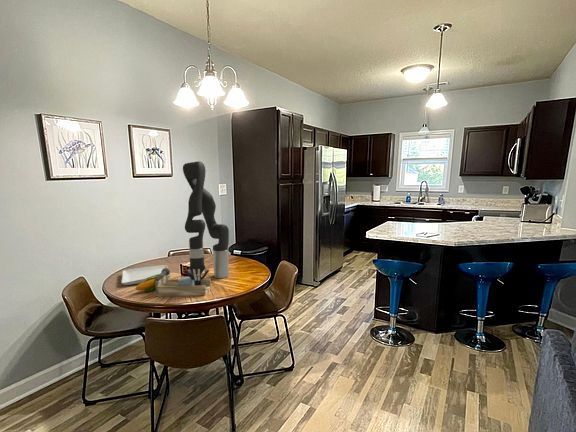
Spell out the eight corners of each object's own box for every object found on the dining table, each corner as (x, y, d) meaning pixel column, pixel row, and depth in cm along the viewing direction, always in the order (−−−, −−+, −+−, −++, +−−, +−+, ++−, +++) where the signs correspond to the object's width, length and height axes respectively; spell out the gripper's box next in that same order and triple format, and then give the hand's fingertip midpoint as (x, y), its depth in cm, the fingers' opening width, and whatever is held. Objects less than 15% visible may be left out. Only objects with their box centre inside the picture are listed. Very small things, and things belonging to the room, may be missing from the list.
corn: (170, 272, 179) (139, 282, 162) (172, 284, 180) (140, 296, 163) (162, 271, 183) (130, 280, 166) (164, 283, 184) (132, 294, 167)
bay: (163, 287, 176) (161, 268, 174) (211, 286, 176) (210, 267, 175) (153, 296, 162) (151, 275, 161) (205, 295, 163) (204, 274, 161)
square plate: (122, 275, 200) (122, 269, 200) (167, 269, 212) (166, 264, 212) (121, 288, 176) (121, 281, 176) (171, 280, 189) (171, 274, 188)
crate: (182, 287, 172) (181, 276, 171) (194, 286, 172) (194, 276, 171) (178, 291, 165) (177, 280, 165) (191, 291, 165) (190, 280, 165)
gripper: (210, 254, 170) (211, 284, 173) (186, 254, 170) (188, 284, 172) (207, 257, 163) (208, 288, 165) (182, 258, 163) (184, 289, 165)
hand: (198, 286), depth 169 cm, fingers closed
